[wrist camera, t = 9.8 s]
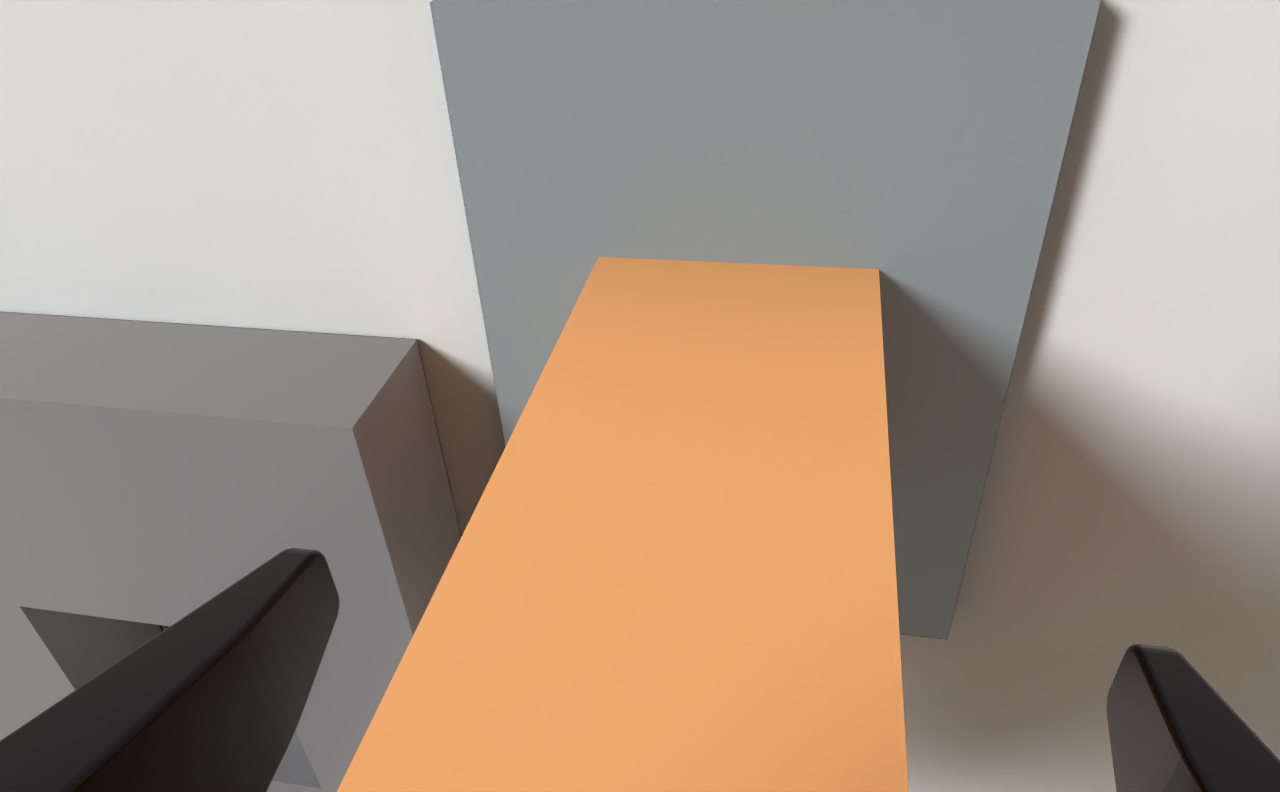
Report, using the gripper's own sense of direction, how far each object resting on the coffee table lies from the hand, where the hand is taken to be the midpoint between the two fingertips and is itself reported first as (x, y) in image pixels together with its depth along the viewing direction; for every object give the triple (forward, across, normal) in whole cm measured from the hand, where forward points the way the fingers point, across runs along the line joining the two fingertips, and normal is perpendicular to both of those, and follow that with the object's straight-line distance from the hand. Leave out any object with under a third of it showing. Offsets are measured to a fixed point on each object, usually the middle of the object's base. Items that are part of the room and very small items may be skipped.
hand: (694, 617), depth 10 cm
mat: (+5, 0, 0) cm, 5 cm away
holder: (+5, +12, +8) cm, 15 cm away
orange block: (+5, 0, 0) cm, 5 cm away
